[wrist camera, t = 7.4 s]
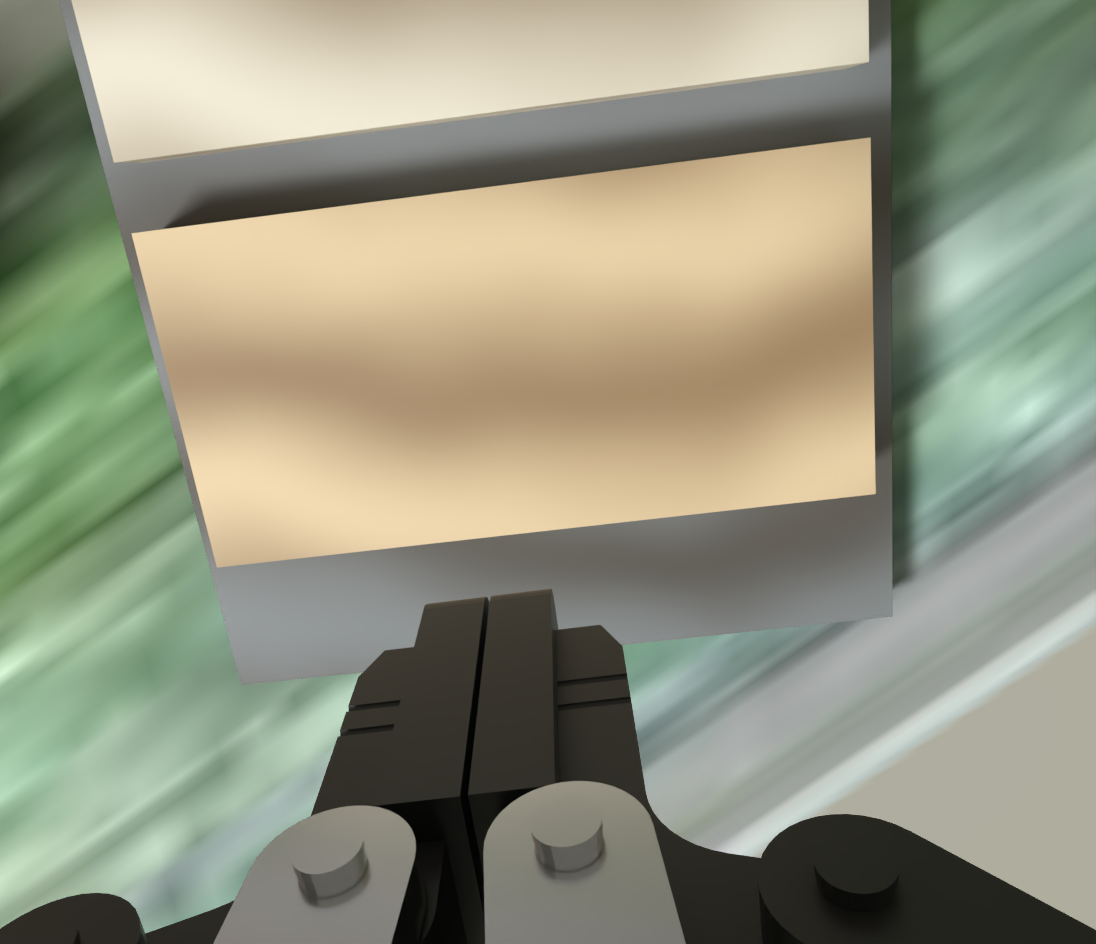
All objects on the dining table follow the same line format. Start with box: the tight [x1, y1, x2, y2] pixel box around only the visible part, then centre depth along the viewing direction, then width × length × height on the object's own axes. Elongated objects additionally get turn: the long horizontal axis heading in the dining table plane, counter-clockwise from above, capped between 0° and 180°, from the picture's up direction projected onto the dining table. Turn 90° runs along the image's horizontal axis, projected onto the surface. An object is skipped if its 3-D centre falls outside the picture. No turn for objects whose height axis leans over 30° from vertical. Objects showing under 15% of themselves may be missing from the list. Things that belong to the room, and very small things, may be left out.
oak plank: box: [131, 138, 876, 568], centre depth 22 cm, size 8×16×2 cm, turn 97°
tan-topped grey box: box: [59, 0, 893, 685], centre depth 21 cm, size 22×18×3 cm
